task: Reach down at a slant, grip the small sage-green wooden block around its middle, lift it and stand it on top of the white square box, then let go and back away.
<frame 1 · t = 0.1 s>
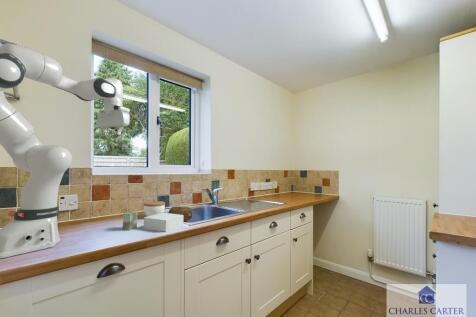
hand: (112, 135, 120), 48 cm above the table, tool pointing down, fingers open, 8 cm apart
lidded bowl: (154, 217, 141), on the table
brown rounded slab: (180, 221, 134), on the table
white square box: (164, 227, 118), on the table
sage block: (129, 228, 114), on the table
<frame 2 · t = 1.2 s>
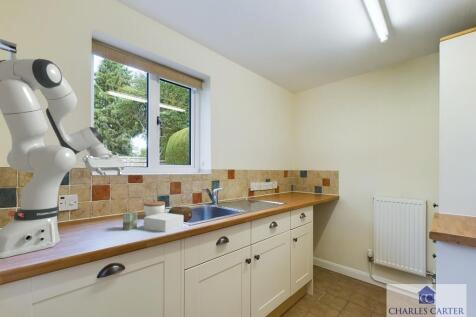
hand: (112, 175, 120), 26 cm above the table, tool tilted 45°, fingers open, 8 cm apart
nothing on the table moved.
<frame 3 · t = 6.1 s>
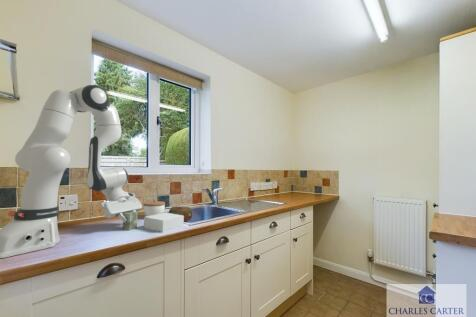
hand: (131, 220, 114), 4 cm above the table, tool tilted 45°, fingers closed on sage block, 5 cm apart
sage block: (129, 228, 114), on the table, touching gripper
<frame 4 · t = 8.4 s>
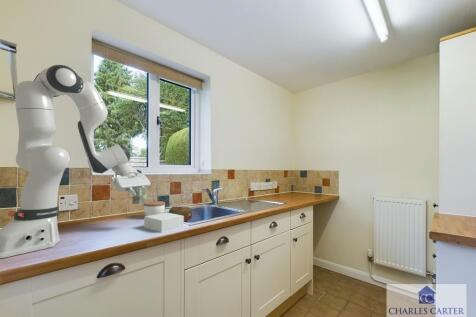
hand: (140, 194, 116), 17 cm above the table, tool tilted 45°, fingers closed on sage block, 5 cm apart
sage block: (139, 203, 116), point 12 cm above the table, touching gripper
everything else where it was.
when the fingers open (12 cm above the table, at t = 10.6 s): sage block drops 2 cm, resting on white square box.
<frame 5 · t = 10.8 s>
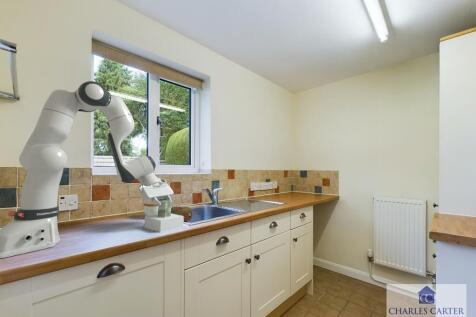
hand: (165, 204, 119), 12 cm above the table, tool tilted 45°, fingers open, 7 cm apart
white square box: (164, 227, 118), on the table, touching sage block
sage block: (164, 216, 119), point 6 cm above the table, touching white square box
everything else where it was.
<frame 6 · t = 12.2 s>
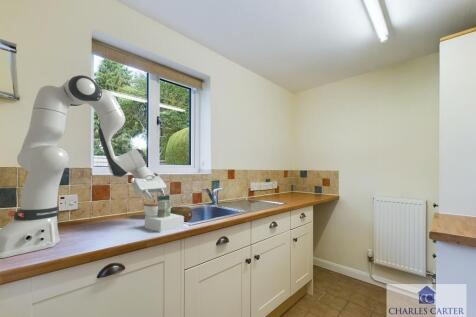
hand: (157, 197, 120), 15 cm above the table, tool tilted 45°, fingers open, 8 cm apart
white square box: (164, 227, 118), on the table
sage block: (163, 216, 119), point 6 cm above the table
everything else where it was.
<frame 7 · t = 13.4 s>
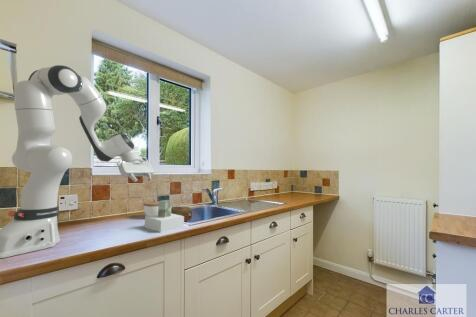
hand: (143, 181, 123), 24 cm above the table, tool tilted 40°, fingers open, 8 cm apart
nothing on the table moved.
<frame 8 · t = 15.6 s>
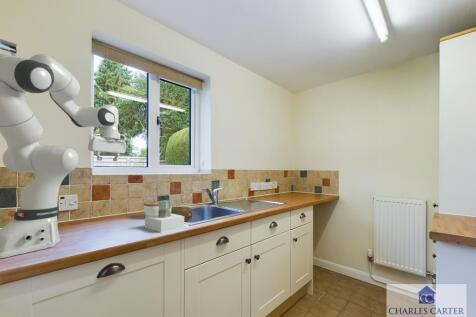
hand: (107, 160, 122), 34 cm above the table, tool pointing down, fingers open, 8 cm apart
white square box: (164, 228, 118), on the table, touching sage block
sage block: (164, 216, 118), point 6 cm above the table, touching white square box
everything else where it was.
at the end: sage block inside the target area on the white square box (0.2 cm from its centre), point 6.0 cm above the white square box's base; sage block tilted 0°; the gripper is holding nothing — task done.
